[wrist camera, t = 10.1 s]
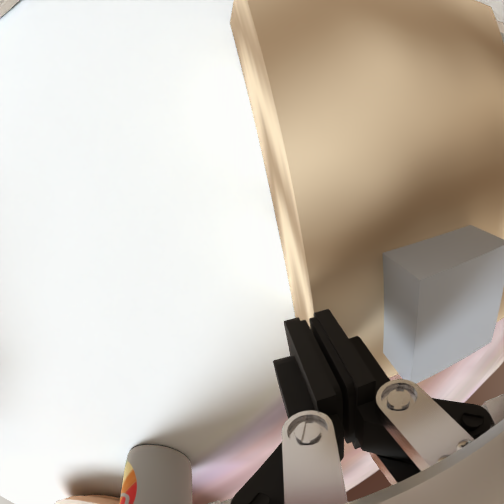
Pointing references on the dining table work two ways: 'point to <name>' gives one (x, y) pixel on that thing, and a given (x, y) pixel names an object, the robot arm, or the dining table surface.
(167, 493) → the lotion bottle
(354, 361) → the robot arm
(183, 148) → the dining table surface
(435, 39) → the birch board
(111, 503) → the bowl
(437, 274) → the slate tile
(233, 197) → the dining table surface
